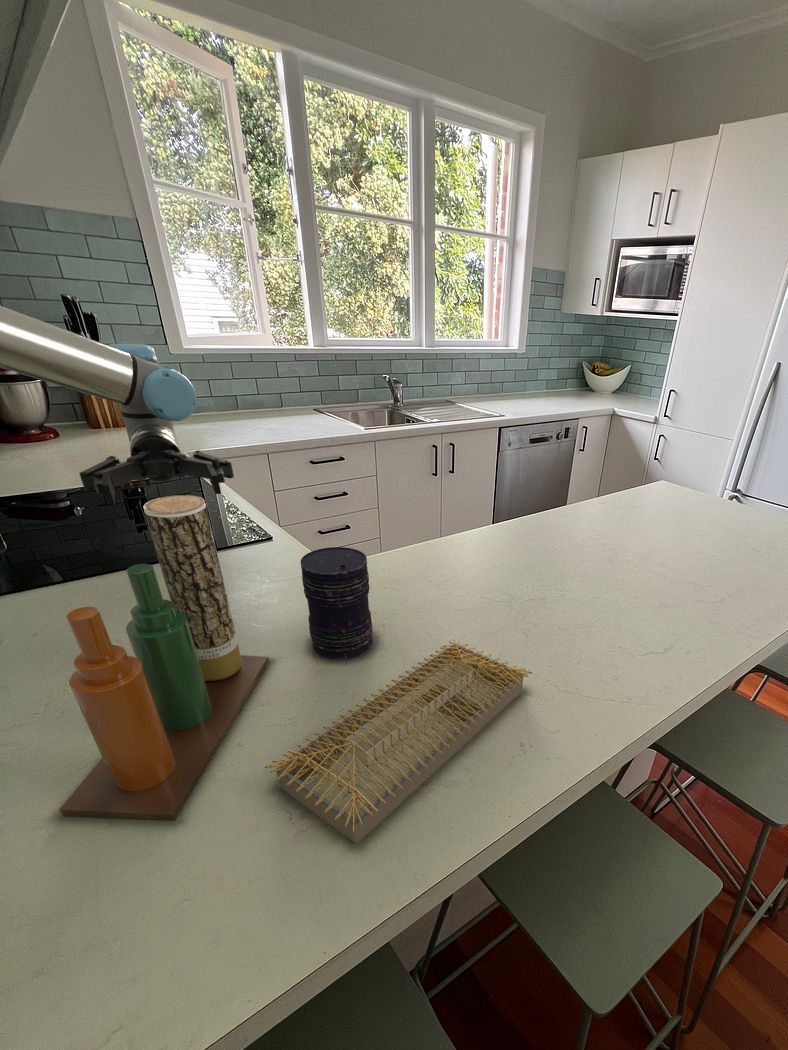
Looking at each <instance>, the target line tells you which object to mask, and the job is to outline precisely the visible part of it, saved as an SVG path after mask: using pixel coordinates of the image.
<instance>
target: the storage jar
mask: <svg viewBox="0 0 788 1050" xmlns="http://www.w3.org/2000/svg"><path fill="white" fill-rule="evenodd" d="M300 569H301V580H302V581H301V582H302V586H303V593H304V595H305V599H306V600H307V607H308V613H309V615H308V625H309V626H308V630H309V635H310V638H311V639H310V640H311V642H312V643H311V645H312V651H313V652H314V653H315V654H316V655H317V656H318V657H320V658H323V659H326V660H331V661H346V660H347V661H348V660H352V659H356V658H359V657H361V656H363V655H365V654H366V653H368V652H369V651H370V650H371V649H372V648H373V647H372V646H373V643H374V640H373V621H372V613H371V610H370V605H369V593H370V576H369V571H368V569H369V568H368V557H367V554H366V553H364V552H363V551H361V550H358V549H356V548H351V547H344V546H333V547H331V546H330V547H323V548H319V549H315V550H312V551H310V552H308V553H306V554H305V555H303V556H302V557H301V559H300Z"/></svg>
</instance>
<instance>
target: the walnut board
mask: <svg viewBox="0 0 788 1050" xmlns="http://www.w3.org/2000/svg"><path fill="white" fill-rule="evenodd" d="M240 655H241V654H240ZM241 659H242V665H241V667H240V669H239V670H238V671H237V672H236V673H235V674H234V675H232V676H230V677H228V678H226V679H222V680H218V681H205V682H206V686H207V689H208V693H209V696H210V700H211V704H212V707H213V710H212V713H211V715H210V716H209V717H208V719H206V720H205V721H204V722H202V723H201V724H199V725H197V726H195V727H192V728H189V729H185V730H168V729H165V730H166V733H167V736H168V739H169V742H170V744H171V747H172V750H173V753H174V756H175V759H176V766H175V769H174V771H173V772H172V773H171V775H170V776H169V777H168V778H166V779H165V780H164V781H162V782H161V783H159V784H157V785H156V786H153V787H151V788H148V789H145V790H140V791H124V790H121V789H119V788H117V787H116V786H115V784H114V782H113V780H112V778H111V775H110V773H109V771H108V769H107V767H106V764H105V762H104V760H103V758H102V757H101V759H100V760H99V761H98V762H97V764H96V765H95V766H94V767H93V768H92V770H91V771H90V772H89V773H88V774H87V775H86V777H84V779H83V780H82V782H81V783H80V784H79V785H78V786H77V788H76V789H75V790H74V791H73V792H72V793H71V795H69V797H68V798H67V799H66V801H65V802H64V803H63V804H62V806H61V807H60V808H59V812H60V814H61V816H65V817H66V816H68V817H87V818H88V817H90V818H111V819H112V818H116V819H134V820H135V819H136V820H139V819H140V820H160V821H161V820H163V821H175V820H176V818H177V816H178V815H179V813H180V811H181V810H182V808H183V806H184V804H185V803H186V801H187V800H188V798H189V796H190V795H191V793H192V791H193V790H194V788H195V786H196V784H197V783H198V782H199V780H200V778H201V777H202V775H203V773H204V771H205V769H206V768H207V766H208V764H209V763H210V761H211V759H212V758H213V757H214V754H215V753H216V751H217V750H218V748H219V747H220V745H221V743H222V741H223V740H224V738H225V736H226V735H227V733H228V731H229V729H230V728H231V726H232V725H233V723H234V722H235V720H236V718H237V716H238V714H239V713H240V711H241V710H242V708H243V707H244V705H245V703H246V701H247V700H248V698H249V696H250V695H251V693H252V691H253V690H254V688H255V687H256V684H257V683H258V682H259V679H260V678H261V677H262V675H263V673H264V672H265V669H266V668H267V667H268V665H269V663H270V658H269V656H263V655H243V654H242V655H241Z"/></svg>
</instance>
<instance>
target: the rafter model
mask: <svg viewBox="0 0 788 1050" xmlns="http://www.w3.org/2000/svg"><path fill="white" fill-rule="evenodd" d="M448 643H449V645H448V644H443V645H442V646H440V647H439V649H440V650H434V653H436V654H432V653H431V654H430V653H429V657H430V658H427V657H424V658H423V660H424V661H425V662H421V661H420V662H419V661H418V662H417V664H418V665H419V666H411V669H413V670H415V671H413V670H404V672H405V673H406V674H408V675H401V674H398V677H399V678H400V679H401V680H398V679H391V682H392V683H395V684H384V687H386V688H388V689H381V688H378V689H377V692H380V694H375V693H370V696H371V697H372V698H374V699H367V698H363V699H362V701H364V702H365V703H366V704H365V705H363V704H358V703H356V704H355V706H356V707H357V708H359V709H357V710H354V709H347V712H348V713H351V714H350V715H349V716H348V715H342V714H339V717H340V718H342V719H343V720H341V721H336V720H331V723H332V724H334V726H332V727H329V726H325V725H323V726H322V728H323V729H324V730H325V731H326V732H324V733H319V732H316V731H314V732H313V734H314V735H315V736H316V737H317V738H315V739H311V738H308V737H305V741H307V742H309V743H308V744H306V745H304V744H303V745H302V744H299V743H296V746H297V747H298V748H300V749H299V750H298V751H294V750H291V749H287V750H286V751H287V753H289V754H287V753H284V752H283V753H282V755H283V756H284V757H285V758H286V759H275V760H271V763H272V764H266V765H264V766H263V769H271V770H269V773H270V774H271V773H276V777H277V781H278V786H279V789H281V790H282V791H283V792H285V793H286V794H288V795H289V796H290V797H292V798H294V799H295V801H297V802H298V803H300V804H301V805H303V806H304V807H305V808H307V809H308V810H309V811H311V812H312V813H313V814H315V815H317V816H318V817H320V818H321V819H322V820H323V821H325V822H326V823H328V825H330V826H332V827H333V828H334V829H336V830H337V831H338V832H339V833H341V834H342V835H344V836H345V837H346V838H348V839H349V840H351V841H352V842H353V843H354V844H358V843H359V842H361V840H362V839H364V838H365V837H366V836H367V835H368V834H369V833H370V832H371V831H372V830H374V829H375V828H376V827H377V826H378V825H379V824H380V823H381V822H382V821H383V820H384V819H385V818H386V817H388V816H389V815H390V814H391V813H392V812H393V811H394V810H395V809H396V808H397V807H398V806H400V805H401V804H402V803H403V802H404V801H405V800H407V798H408V797H410V795H412V793H413V792H415V791H416V790H417V789H418V788H419V787H420V786H421V785H422V784H423V783H425V781H427V780H428V778H430V777H431V776H432V775H433V774H434V773H436V771H437V770H438V769H439V768H441V767H442V766H443V765H444V764H445V763H446V762H447V761H448V760H449V759H451V758H452V757H453V756H454V755H456V753H457V752H458V751H459V750H460V749H461V748H463V747H464V746H465V744H467V743H468V742H469V741H470V740H471V739H472V738H473V737H474V736H475V735H477V734H478V733H479V732H480V731H481V730H482V729H483V728H484V727H485V726H487V724H489V722H491V721H492V720H493V719H494V718H495V717H496V716H497V715H498V714H499V713H500V712H502V711H503V709H505V708H506V707H507V706H508V705H509V704H510V703H512V702H513V700H514V699H516V698H517V697H518V696H519V695H520V694H521V693H522V692H523V684H524V677H527V678H528V677H529V675H528V674H533V671H530V670H526V668H517V667H518V664H515V665H512V666H507V665H508V664H509V661H505V662H501V663H500V662H498V661H500V660H501V657H498V658H497V657H496V658H494V659H491V658H490V657H491V656H492V653H491V654H486V655H482V654H483V653H484V650H481V651H476V652H475V651H474V650H476V647H475V646H474V647H470V648H467V646H468V643H465V644H460V643H461V640H459V641H458V642H456V640H455V638H453V642H452V641H451V640H450V641H448ZM450 676H451V677H450ZM452 677H454V678H456V679H458V680H456V679H454V678H452ZM484 677H485V678H484ZM474 678H476V679H474ZM486 678H487V679H486ZM489 679H490V680H492V681H490V680H489ZM444 680H445V681H446V682H445V681H444ZM478 681H482V682H481V684H480V683H479V682H478ZM447 682H448V683H447ZM484 682H486V683H487V684H488V685H490V686H487V685H484ZM449 683H450V684H449ZM451 684H452V685H451ZM474 685H476V689H475V688H473V686H474ZM478 686H479V687H481V688H482V689H483V690H484V691H483V690H478V688H479V687H478ZM500 689H501V690H500ZM467 690H470V693H467V692H466V691H467ZM473 691H474V692H475V694H477V695H478V696H477V695H473V694H472V693H473ZM492 693H494V694H496V695H493V694H492ZM487 694H488V695H487ZM467 696H468V697H467ZM484 696H485V697H487V698H488V699H490V700H488V699H486V698H485V697H484ZM426 699H427V700H428V701H429V702H427V700H426ZM479 702H480V703H479ZM481 703H483V704H484V705H483V704H481ZM418 704H419V705H420V706H423V708H421V707H420V706H419V705H418ZM409 708H410V709H411V710H414V711H416V713H413V712H412V711H411V710H410V709H409ZM440 708H441V709H440ZM444 710H445V711H444ZM440 711H444V712H445V714H444V713H441V712H440ZM447 712H449V713H450V714H451V715H452V716H453V717H452V716H449V715H447ZM400 713H402V714H404V715H406V716H407V717H409V718H408V719H406V718H405V717H404V716H403V715H401V714H400ZM433 713H434V714H433ZM435 713H436V714H435ZM456 715H457V716H456ZM434 716H438V720H437V719H436V718H434ZM458 716H459V717H461V718H462V719H465V720H466V721H464V722H463V721H462V720H461V719H460V718H458ZM440 717H441V718H442V719H444V720H445V721H446V722H444V721H441V720H440V719H441V718H440ZM392 718H394V719H396V720H398V721H399V722H401V724H400V725H398V724H397V723H396V722H395V721H394V720H393V719H392ZM427 718H429V719H427ZM449 720H450V721H452V722H454V723H456V724H457V725H458V727H456V726H455V725H454V724H453V723H451V722H450V721H449ZM426 722H431V725H429V724H427V723H426ZM434 723H435V724H436V726H438V728H437V727H434ZM384 724H387V725H389V726H390V727H393V728H395V729H394V730H393V731H390V730H389V729H388V728H387V727H386V726H385V725H384ZM419 724H422V725H419ZM418 725H419V726H418ZM441 725H442V726H441ZM422 727H424V731H422V730H420V729H419V728H422ZM444 727H446V728H448V729H449V730H451V731H452V733H449V732H448V731H447V730H446V729H445V728H444ZM413 729H414V731H412V730H413ZM426 729H428V731H429V732H431V733H432V734H431V733H428V732H427V731H426ZM376 730H380V731H382V732H384V734H387V735H386V736H385V737H384V738H383V737H381V735H379V733H377V732H376ZM434 731H436V732H437V733H439V734H441V735H443V736H445V739H444V740H443V738H441V737H440V736H439V735H438V734H437V733H435V732H434ZM415 733H416V737H415V736H413V735H412V734H415ZM370 735H371V736H372V737H373V738H375V739H377V740H379V741H378V742H377V743H376V744H373V742H371V741H370V739H368V737H369V736H370ZM419 735H420V736H421V737H423V739H424V740H423V739H420V738H419ZM404 736H406V737H404ZM426 736H427V737H429V739H432V740H433V741H434V740H435V741H436V742H437V743H439V744H437V745H435V744H434V743H432V741H430V740H429V739H428V738H427V737H426ZM407 739H408V740H409V743H407V742H405V741H404V740H407ZM412 741H413V742H414V743H415V744H416V745H417V746H415V745H412ZM360 742H364V743H365V744H367V745H369V747H371V748H369V749H368V750H366V751H365V750H364V749H363V748H362V747H361V746H360V745H359V743H360ZM397 742H399V743H397ZM418 742H419V743H421V744H422V745H424V746H426V747H428V748H430V749H432V750H431V751H429V752H428V751H427V750H426V749H424V747H422V746H421V745H420V744H419V743H418ZM396 743H397V744H396ZM397 746H401V750H400V749H399V748H397ZM389 748H390V749H391V750H389ZM404 748H405V749H406V751H409V753H408V752H405V751H404ZM409 748H411V749H413V750H414V751H416V752H418V753H420V754H421V755H423V756H424V757H423V758H422V759H420V758H419V757H418V756H417V755H416V754H415V753H414V752H413V751H412V750H411V749H409ZM337 750H339V751H341V752H342V755H341V756H339V757H338V751H337ZM334 752H335V753H334ZM391 752H393V756H392V755H390V754H388V753H391ZM400 753H401V754H403V755H404V756H405V757H408V758H409V759H411V760H413V761H415V762H416V764H415V765H414V766H413V765H412V764H410V763H409V761H407V760H406V759H405V758H404V757H403V756H402V755H401V754H400ZM381 755H382V757H380V756H381ZM396 755H397V756H398V757H400V758H401V759H402V760H401V759H399V758H397V757H396ZM344 756H346V757H347V758H348V760H349V761H350V763H349V764H347V763H345V762H344V761H342V760H341V759H342V758H343V757H344ZM351 758H352V760H351ZM329 759H330V760H332V761H333V762H335V763H331V764H330V762H329ZM383 759H384V760H385V761H384V762H382V761H380V760H383ZM391 759H392V760H394V761H395V762H397V763H398V764H399V765H400V764H401V765H402V766H403V767H406V768H407V769H409V770H408V771H407V772H406V773H405V772H403V771H402V770H401V769H400V768H399V767H398V765H396V764H395V763H394V762H393V761H392V760H391ZM355 761H356V766H355V763H354V762H355ZM387 761H388V762H389V763H391V765H392V766H391V765H388V763H387ZM372 762H373V764H371V763H372ZM378 763H379V764H378ZM322 764H324V765H325V766H327V767H328V768H329V770H328V769H327V768H325V767H324V766H322ZM359 764H360V765H361V766H362V767H363V768H364V769H365V770H362V771H360V768H359ZM380 764H381V765H382V766H384V767H385V768H387V769H388V770H390V771H392V772H394V773H395V774H397V775H399V776H401V777H400V778H399V779H397V780H396V779H395V778H394V777H393V776H391V775H390V774H389V772H387V771H386V769H384V768H383V767H382V766H381V765H380ZM336 765H338V766H339V768H340V769H341V771H342V772H340V771H338V770H337V769H336V768H335V767H336ZM351 765H352V766H353V767H352V766H351ZM373 766H376V769H374V768H372V767H373ZM272 768H273V769H272ZM379 768H380V769H381V770H382V772H384V773H385V774H384V773H382V772H380V771H379ZM312 769H313V771H312V772H311V773H310V774H309V776H308V777H307V778H305V780H304V781H302V780H300V779H299V778H300V777H302V776H304V775H305V774H306V773H308V772H309V771H310V770H312ZM322 770H323V771H322ZM332 770H333V771H334V772H336V773H338V774H339V775H336V774H335V773H333V772H332ZM346 771H347V773H346ZM371 771H372V772H373V773H372V772H371ZM315 772H317V774H315ZM362 773H367V775H368V777H367V776H365V775H364V774H362ZM374 773H376V774H377V775H378V776H380V777H382V778H384V779H385V780H386V781H388V782H390V783H391V784H392V785H391V786H390V787H387V786H386V785H385V784H384V783H383V782H382V781H381V780H380V779H379V778H378V777H376V775H374ZM314 774H315V775H314ZM351 774H352V775H353V776H352V777H351ZM320 775H321V776H322V778H321V779H320V780H319V781H318V782H317V783H316V784H315V786H314V787H313V788H312V787H310V786H309V784H310V783H311V782H312V781H314V780H316V779H317V778H318V777H319V776H320ZM359 775H360V776H359ZM370 775H371V776H372V777H374V778H375V779H376V780H377V781H376V780H374V779H371V777H370ZM341 777H343V778H345V779H347V781H349V782H348V783H347V782H346V781H345V780H343V779H342V778H341ZM362 777H363V778H365V779H366V780H368V782H371V783H372V784H374V785H375V786H377V787H378V788H380V789H381V790H383V791H384V792H383V793H382V794H380V795H379V794H378V793H377V792H376V791H375V790H374V789H373V788H372V787H371V786H370V785H369V784H368V783H367V782H366V781H365V780H364V779H363V778H362ZM355 778H356V782H355ZM325 779H327V780H325ZM323 780H325V781H323ZM359 780H360V781H361V782H362V783H363V784H365V786H363V785H361V784H359ZM329 782H331V785H330V786H329V787H328V788H327V789H326V791H325V792H324V793H323V794H320V793H318V791H319V790H320V789H322V788H323V787H324V786H325V785H326V784H328V783H329ZM351 783H352V784H353V785H356V786H357V787H359V788H360V789H362V790H363V791H365V792H366V793H367V794H369V795H370V796H372V797H373V798H375V800H373V801H372V802H371V801H369V800H368V799H367V797H365V796H364V795H363V794H362V793H361V792H360V791H359V790H358V789H357V788H356V786H352V785H350V784H351ZM334 785H336V786H335V787H334ZM332 787H333V788H332ZM339 788H340V789H342V790H341V791H340V792H339V794H338V795H336V797H335V799H333V801H332V802H331V801H330V800H329V799H327V798H328V797H329V796H330V795H331V794H332V793H334V792H335V791H336V790H338V789H339ZM344 791H345V792H346V793H344ZM370 791H371V792H370ZM343 793H344V794H343ZM348 795H351V796H352V797H351V798H350V799H349V801H348V802H347V803H346V804H345V806H343V808H342V809H341V808H340V807H338V806H337V804H338V803H340V802H341V801H342V800H344V799H345V798H346V797H347V796H348ZM338 799H339V800H338ZM365 805H366V806H367V807H366V806H365ZM356 806H357V807H358V808H360V809H361V810H362V811H361V812H359V811H358V809H357V807H356ZM349 810H350V811H349ZM347 811H349V813H347Z"/></svg>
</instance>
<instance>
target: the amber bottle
mask: <svg viewBox="0 0 788 1050" xmlns="http://www.w3.org/2000/svg"><path fill="white" fill-rule="evenodd" d="M65 617H66V620H67V623H68V624H69V627H70V630H71V632H72V634H73V636H74V639H75V641H76V644H77V646H78V648H79V650H80V653H79V654H78V655H77V656H76V657H75V658H74V660H73V665H74V668H75V671H73V673H72V674H71V676H70V677H69V680H68V685H69V687H70V689H71V691H72V693H73V696H74V699H75V700H76V702H77V705H78V707H79V710H80V711H81V714H82V716H83V718H84V720H85V722H86V724H87V727H88V729H89V731H90V733H91V736H92V738H93V740H94V743H95V744H96V747H97V749H98V751H99V753H100V755H101V759H102V758H103V760H104V762H105V764H106V767H107V769H108V771H109V773H110V775H111V778H112V780H113V782H114V784H115V786H116V787H117V788H119V789H121V790H124V791H140V790H145V789H148V788H151V787H153V786H156V785H157V784H159V783H161V782H162V781H164V780H165V779H166V778H168V777H169V776H170V775H171V773H172V772H173V771H174V769H175V766H176V759H175V756H174V753H173V750H172V747H171V744H170V742H169V739H168V736H167V733H166V730H165V727H164V725H163V722H162V719H161V716H160V713H159V710H158V708H157V705H156V702H155V699H154V696H153V693H152V691H151V688H150V685H149V682H148V679H147V676H146V674H145V671H144V668H143V665H142V663H141V661H140V660H139V659H137V658H136V657H135V656H131V655H128V654H127V651H126V649H125V648H124V647H123V646H121V645H118V644H112V642H111V639H110V636H109V633H108V631H107V628H106V625H105V623H104V621H103V618H102V615H101V612H100V610H99V608H97V607H95V606H82V607H78V608H76V609H72V610H71V611H69V612H68V613H66V616H65Z"/></svg>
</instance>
